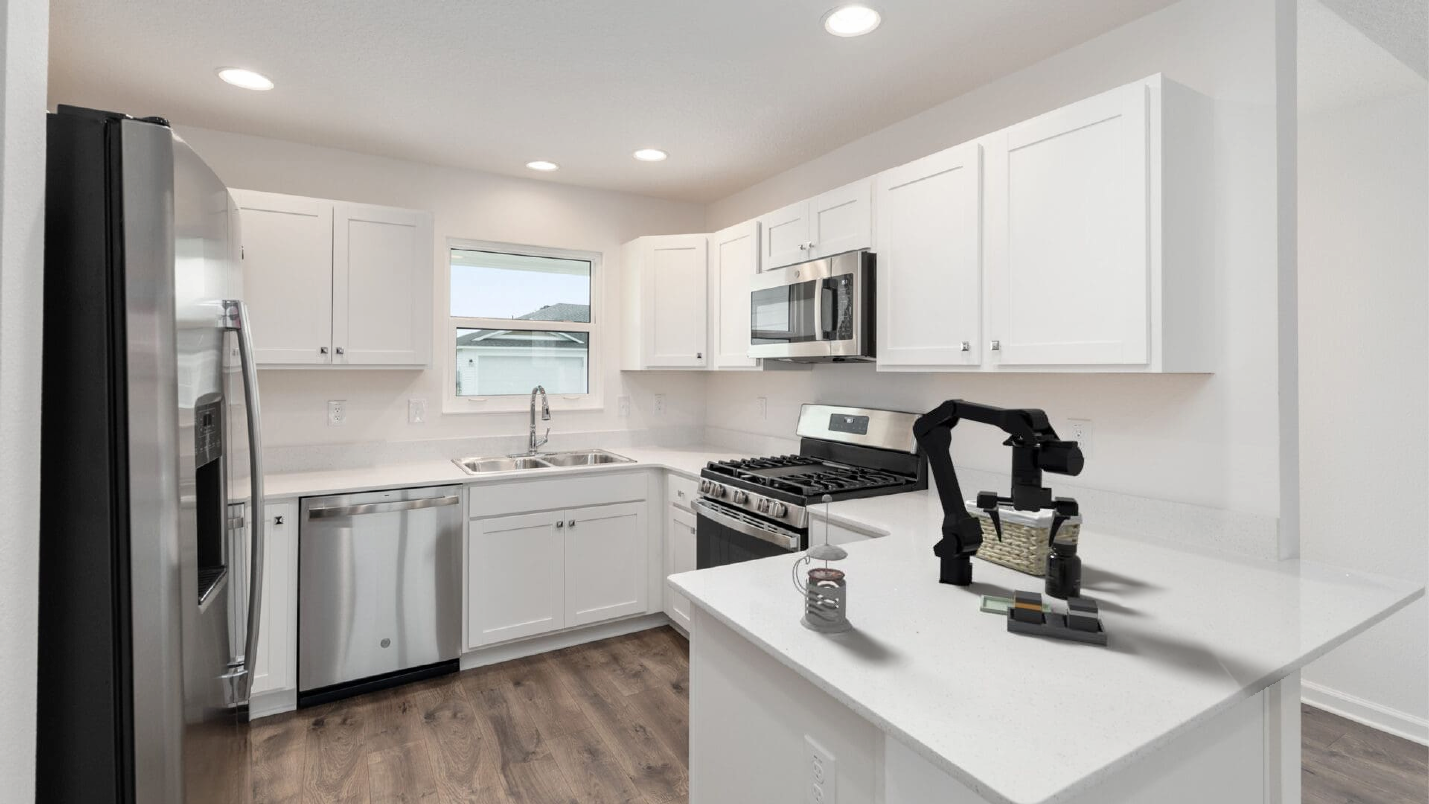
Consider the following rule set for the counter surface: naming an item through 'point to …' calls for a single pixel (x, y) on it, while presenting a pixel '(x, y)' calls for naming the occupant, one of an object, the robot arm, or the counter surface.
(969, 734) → the counter surface
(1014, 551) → the storage basket
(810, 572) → the french press
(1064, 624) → the strip
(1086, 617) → the twin plug
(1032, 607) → the dark grey striped block
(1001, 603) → the tray
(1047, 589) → the supplement bottle
